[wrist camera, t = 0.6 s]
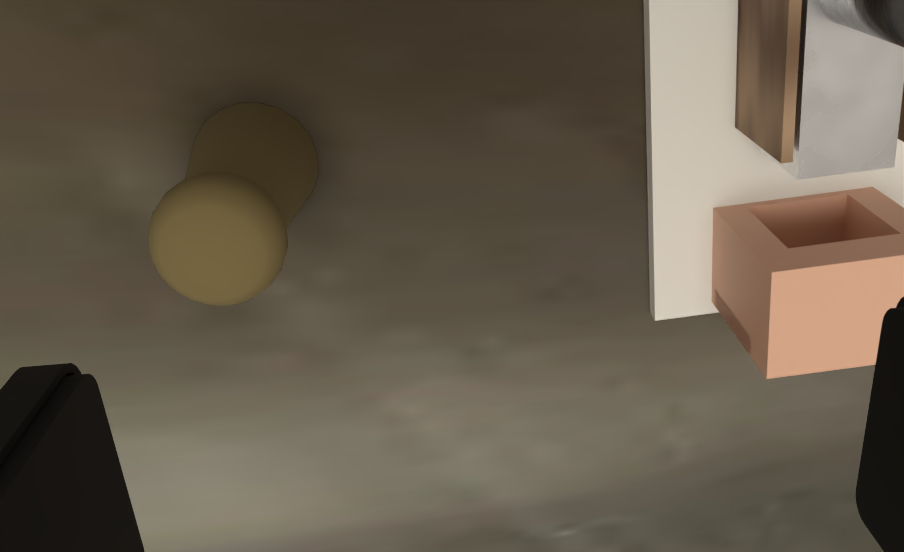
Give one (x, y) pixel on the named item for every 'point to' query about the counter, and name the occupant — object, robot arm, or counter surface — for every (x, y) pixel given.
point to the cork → (234, 205)
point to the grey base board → (708, 150)
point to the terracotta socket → (809, 277)
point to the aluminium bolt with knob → (847, 87)
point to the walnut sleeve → (771, 74)
